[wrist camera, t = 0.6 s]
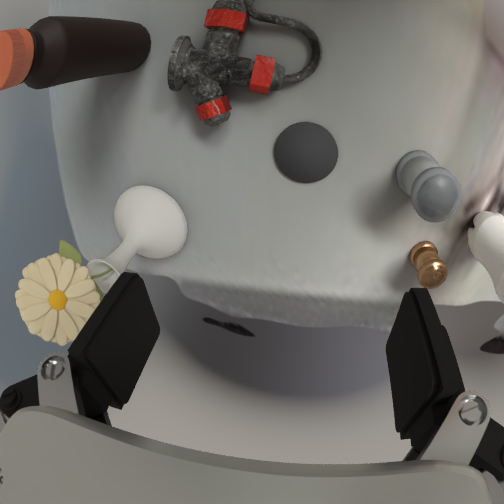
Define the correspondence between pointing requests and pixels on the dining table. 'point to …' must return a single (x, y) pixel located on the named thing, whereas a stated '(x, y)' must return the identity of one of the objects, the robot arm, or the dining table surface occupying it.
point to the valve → (231, 60)
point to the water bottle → (489, 246)
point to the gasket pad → (306, 152)
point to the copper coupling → (428, 265)
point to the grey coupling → (428, 186)
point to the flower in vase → (97, 265)
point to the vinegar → (70, 50)
